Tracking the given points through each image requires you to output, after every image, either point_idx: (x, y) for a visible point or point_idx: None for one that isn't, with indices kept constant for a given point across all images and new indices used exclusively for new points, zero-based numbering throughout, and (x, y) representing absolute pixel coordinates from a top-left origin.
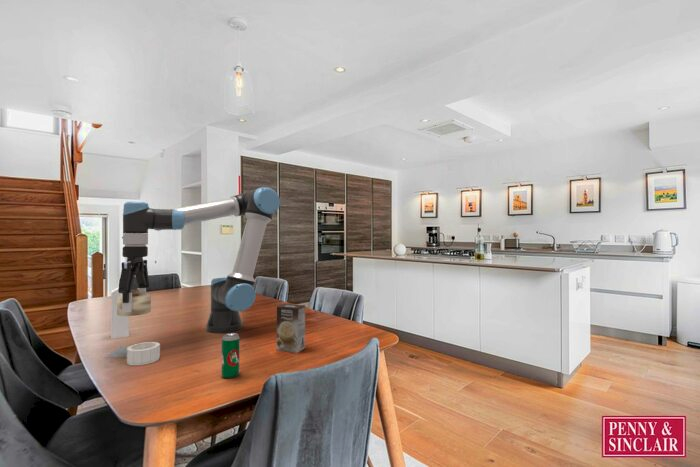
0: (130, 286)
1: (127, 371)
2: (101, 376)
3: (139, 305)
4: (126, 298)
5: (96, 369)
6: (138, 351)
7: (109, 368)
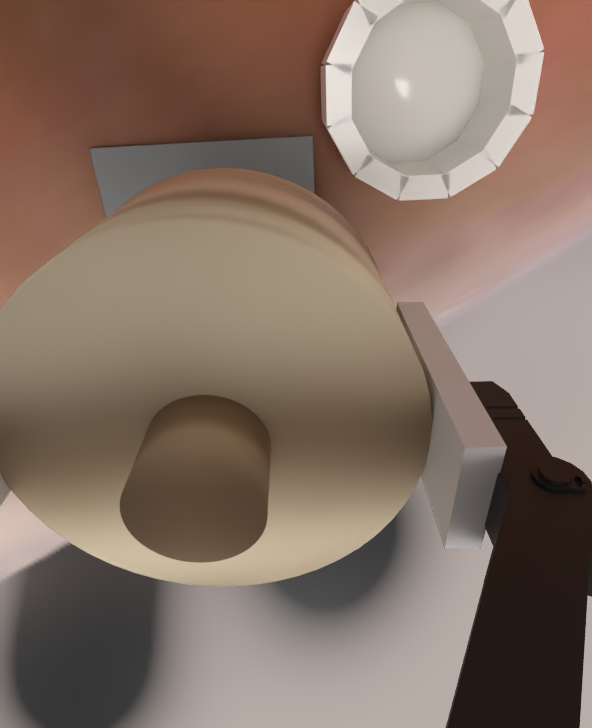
0: (572, 555)
1: (559, 109)
2: (584, 217)
3: (366, 264)
4: (524, 427)
5: (469, 291)
6: (537, 78)
7: (474, 236)
